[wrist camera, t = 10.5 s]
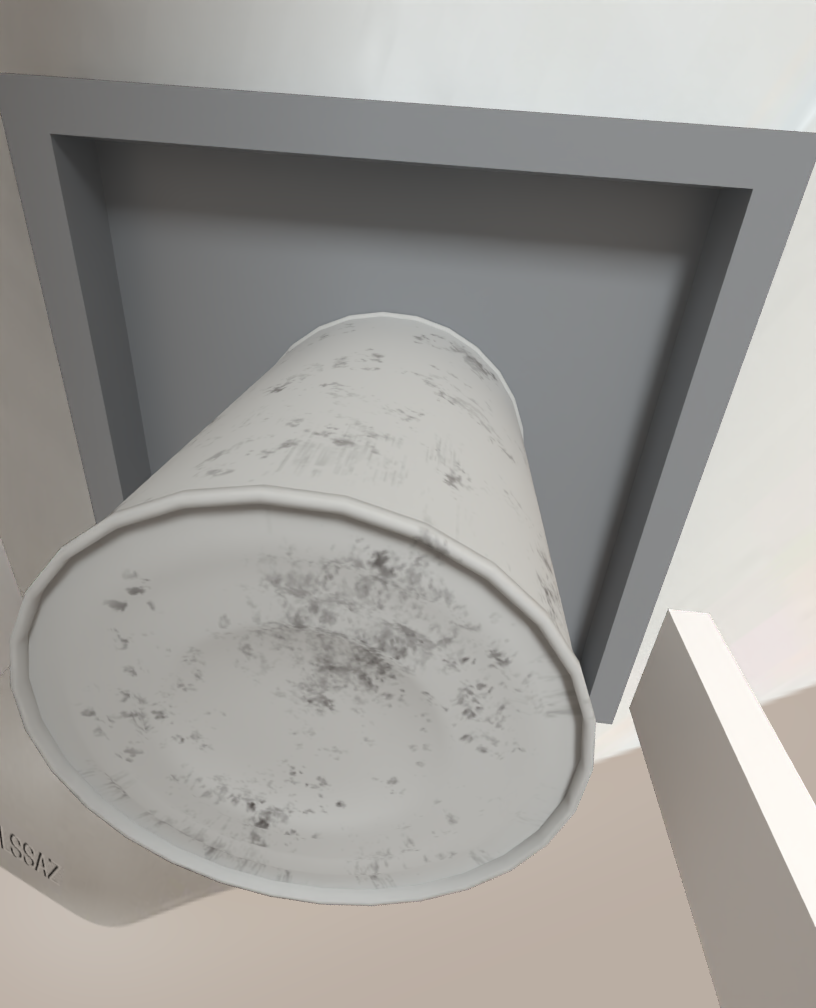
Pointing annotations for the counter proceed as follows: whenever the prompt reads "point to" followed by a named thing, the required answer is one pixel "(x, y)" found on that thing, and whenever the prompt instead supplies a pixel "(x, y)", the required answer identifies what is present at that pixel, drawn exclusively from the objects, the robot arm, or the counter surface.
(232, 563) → the speckled white tin can
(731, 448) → the counter surface
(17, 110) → the tray
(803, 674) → the counter surface
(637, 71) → the counter surface
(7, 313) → the counter surface
